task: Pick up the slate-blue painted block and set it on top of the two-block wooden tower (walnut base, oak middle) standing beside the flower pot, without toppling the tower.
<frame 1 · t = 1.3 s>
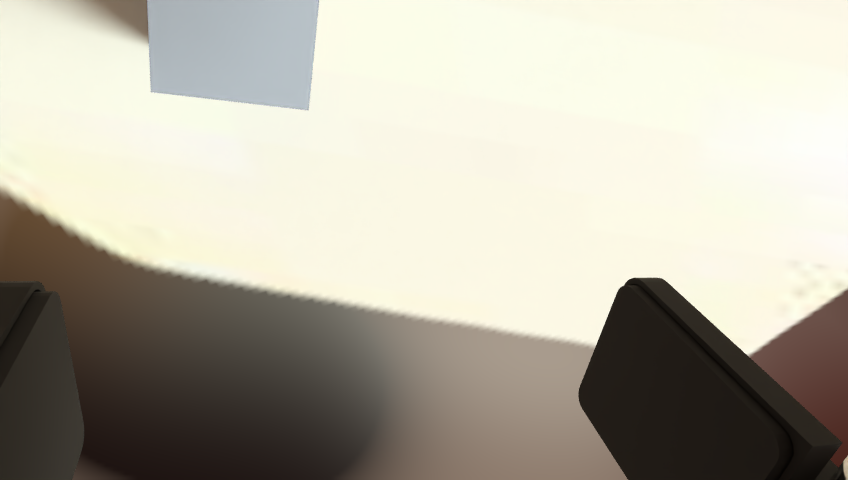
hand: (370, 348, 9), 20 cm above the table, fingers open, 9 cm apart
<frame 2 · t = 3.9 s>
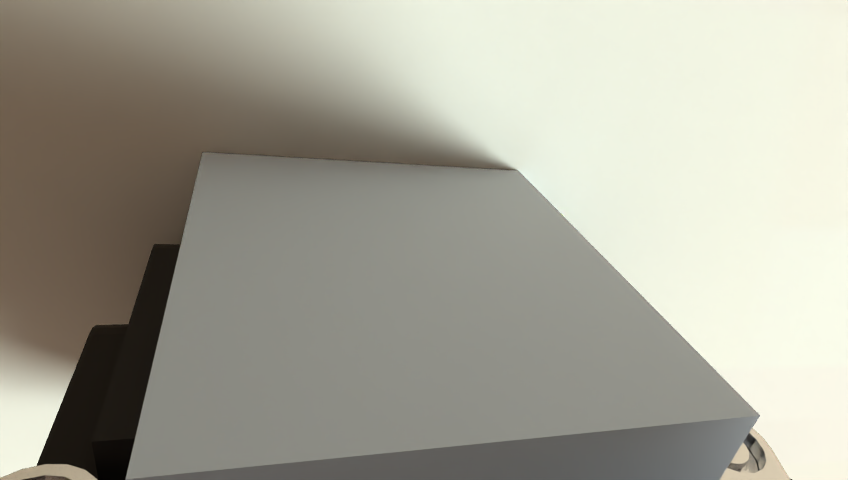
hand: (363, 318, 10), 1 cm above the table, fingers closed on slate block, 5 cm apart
slate block: (357, 293, 11), on the table, touching gripper
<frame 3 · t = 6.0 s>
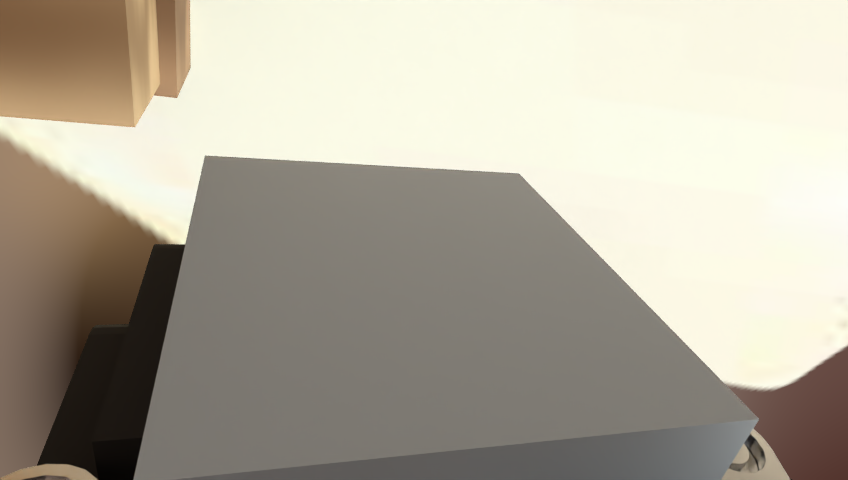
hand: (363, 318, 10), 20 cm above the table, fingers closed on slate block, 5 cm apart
slate block: (358, 295, 11), point 19 cm above the table, touching gripper
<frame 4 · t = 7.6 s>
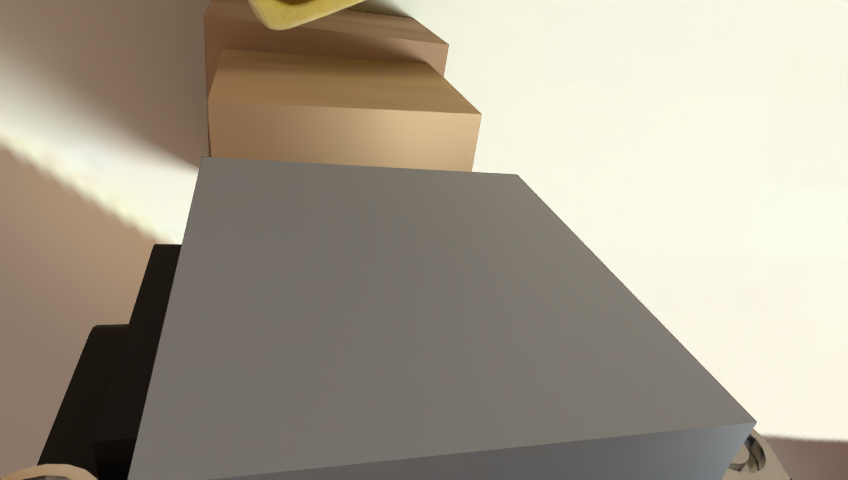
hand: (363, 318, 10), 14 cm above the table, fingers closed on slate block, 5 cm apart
oak middle block: (327, 152, 18), point 5 cm above the table, touching walnut base block
walnut base block: (314, 100, 22), on the table, touching oak middle block
slate block: (356, 296, 11), point 13 cm above the table, touching gripper
when the fingers open (12 cm above the table, at t = 8.3 s): slate block drops 1 cm, resting on oak middle block.
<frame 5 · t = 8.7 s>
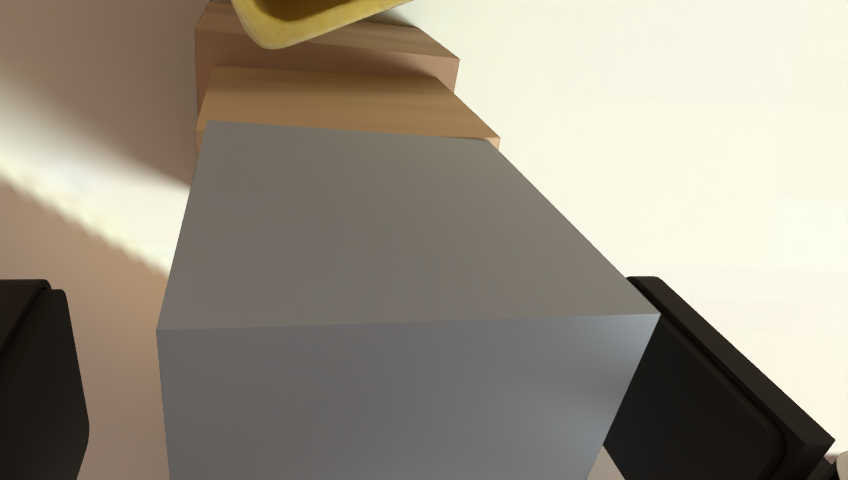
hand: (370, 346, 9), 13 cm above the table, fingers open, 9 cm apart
oak middle block: (328, 174, 16), point 5 cm above the table, touching slate block, walnut base block
walnut base block: (313, 114, 20), on the table, touching oak middle block
slate block: (345, 251, 12), point 10 cm above the table, touching oak middle block
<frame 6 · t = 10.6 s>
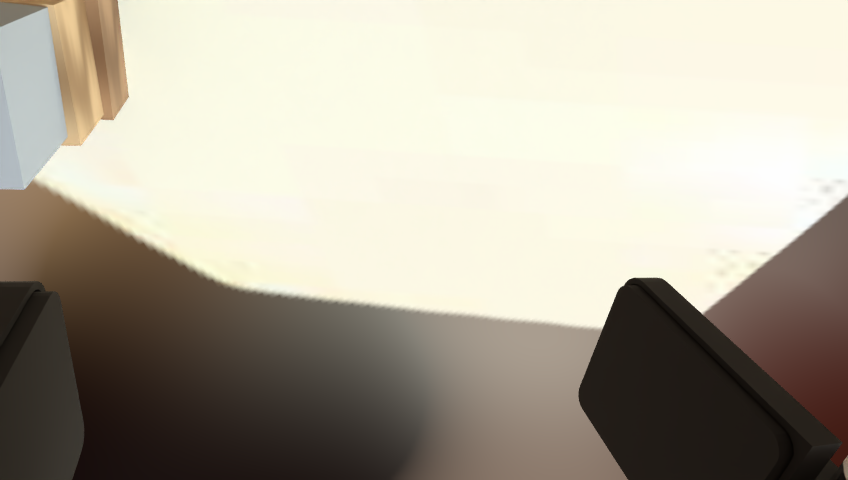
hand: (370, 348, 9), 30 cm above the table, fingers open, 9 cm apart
oak middle block: (25, 53, 27), point 5 cm above the table, touching slate block, walnut base block
walnut base block: (53, 30, 31), on the table, touching oak middle block
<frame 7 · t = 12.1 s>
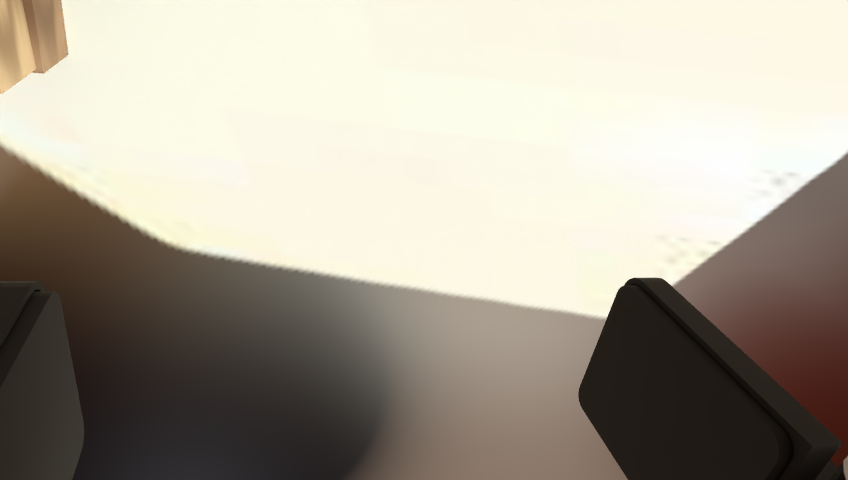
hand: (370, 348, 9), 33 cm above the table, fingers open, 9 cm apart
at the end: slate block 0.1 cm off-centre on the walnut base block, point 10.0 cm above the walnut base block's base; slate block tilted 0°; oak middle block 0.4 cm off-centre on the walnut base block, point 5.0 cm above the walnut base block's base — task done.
